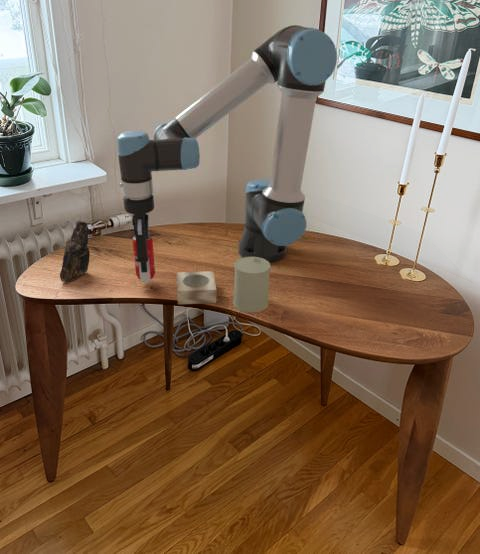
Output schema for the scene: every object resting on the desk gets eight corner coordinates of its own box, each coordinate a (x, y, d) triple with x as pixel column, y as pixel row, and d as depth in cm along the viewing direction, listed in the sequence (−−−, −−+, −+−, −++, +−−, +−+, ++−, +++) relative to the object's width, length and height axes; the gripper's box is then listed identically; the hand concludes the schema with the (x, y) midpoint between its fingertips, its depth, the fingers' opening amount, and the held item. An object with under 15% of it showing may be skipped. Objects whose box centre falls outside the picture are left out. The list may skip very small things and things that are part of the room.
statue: (54, 281, 144) (46, 231, 136) (83, 264, 153) (77, 216, 146) (70, 286, 142) (62, 236, 134) (98, 268, 151) (92, 220, 144)
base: (213, 283, 145) (213, 271, 143) (216, 302, 136) (216, 289, 134) (177, 285, 144) (176, 272, 142) (177, 304, 135) (177, 291, 133)
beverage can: (151, 282, 140) (148, 241, 134) (133, 280, 141) (129, 240, 135) (158, 273, 144) (154, 233, 138) (140, 271, 145) (136, 231, 139)
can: (272, 298, 139) (275, 258, 133) (262, 316, 132) (264, 274, 126) (240, 291, 142) (241, 252, 136) (228, 308, 134) (229, 267, 128)
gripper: (125, 183, 139) (133, 261, 150) (120, 209, 123) (130, 293, 134) (153, 182, 139) (160, 259, 151) (152, 207, 124) (159, 291, 135)
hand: (145, 275), depth 142 cm, fingers closed on beverage can, 5 cm apart
